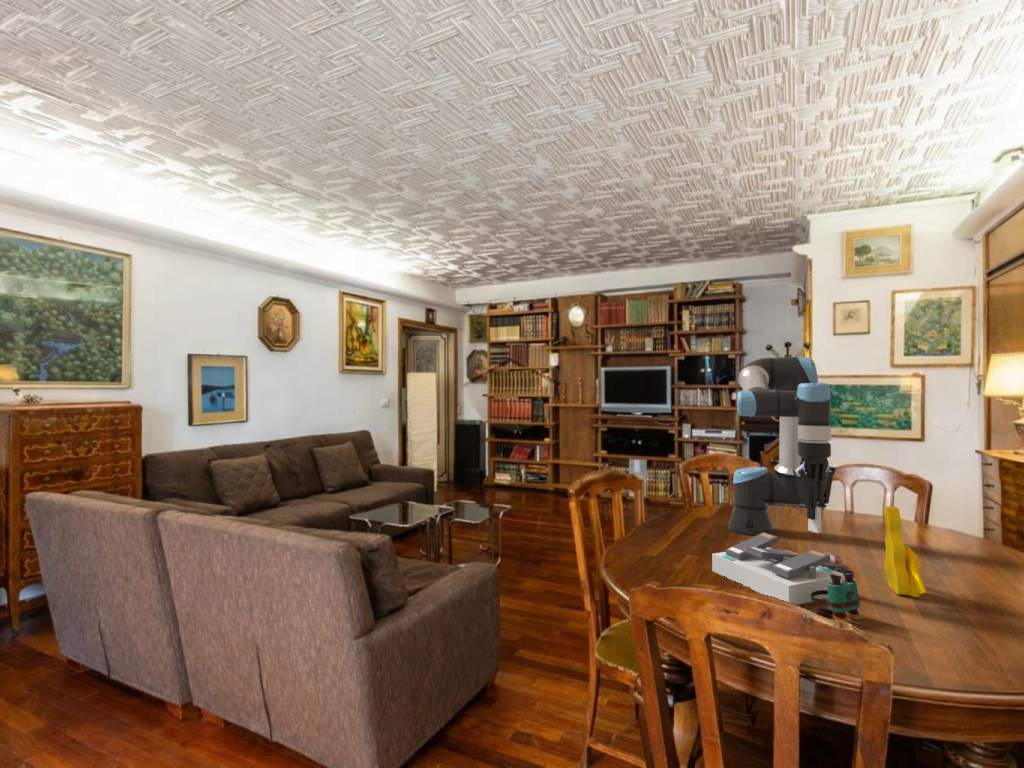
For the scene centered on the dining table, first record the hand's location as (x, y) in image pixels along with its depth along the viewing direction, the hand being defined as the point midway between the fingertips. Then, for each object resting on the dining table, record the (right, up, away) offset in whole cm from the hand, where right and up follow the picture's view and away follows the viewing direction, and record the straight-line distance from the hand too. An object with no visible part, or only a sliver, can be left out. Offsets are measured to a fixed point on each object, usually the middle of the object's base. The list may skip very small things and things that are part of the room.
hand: (814, 531), depth 135 cm
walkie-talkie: (+12, -16, +14) cm, 24 cm away
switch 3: (-5, -8, -2) cm, 9 cm away
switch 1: (-10, -8, +13) cm, 19 cm away
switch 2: (-7, -8, +6) cm, 12 cm away
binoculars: (-4, -16, -14) cm, 22 cm away
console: (-7, -16, +6) cm, 18 cm away
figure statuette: (+22, -16, -1) cm, 27 cm away
